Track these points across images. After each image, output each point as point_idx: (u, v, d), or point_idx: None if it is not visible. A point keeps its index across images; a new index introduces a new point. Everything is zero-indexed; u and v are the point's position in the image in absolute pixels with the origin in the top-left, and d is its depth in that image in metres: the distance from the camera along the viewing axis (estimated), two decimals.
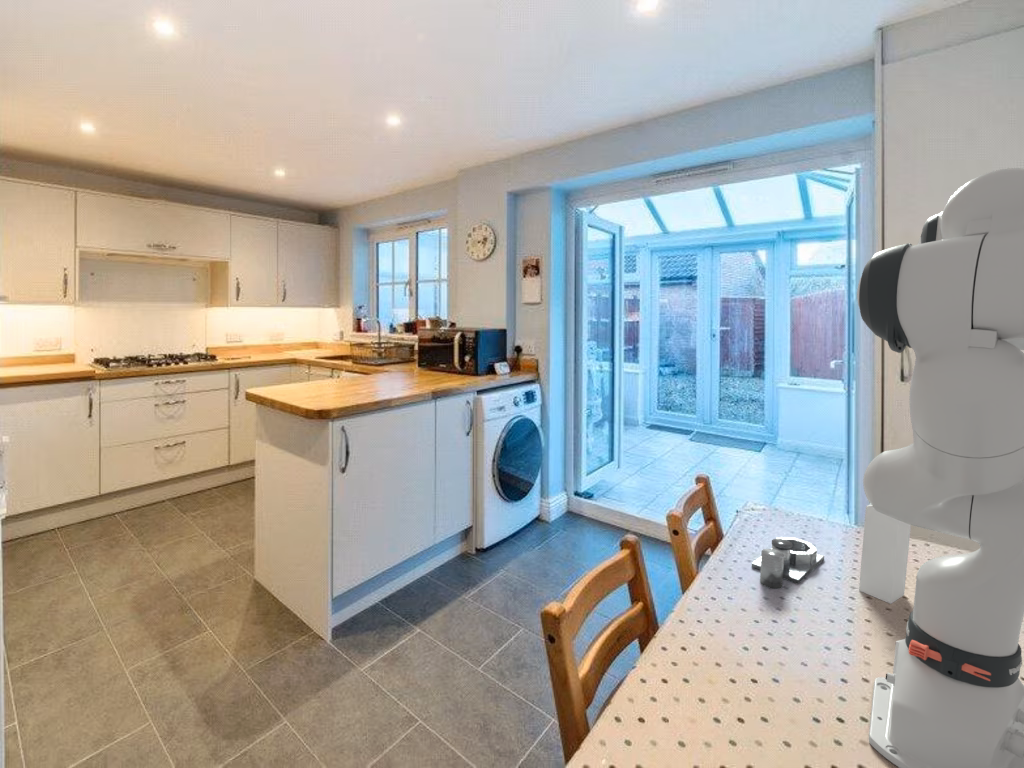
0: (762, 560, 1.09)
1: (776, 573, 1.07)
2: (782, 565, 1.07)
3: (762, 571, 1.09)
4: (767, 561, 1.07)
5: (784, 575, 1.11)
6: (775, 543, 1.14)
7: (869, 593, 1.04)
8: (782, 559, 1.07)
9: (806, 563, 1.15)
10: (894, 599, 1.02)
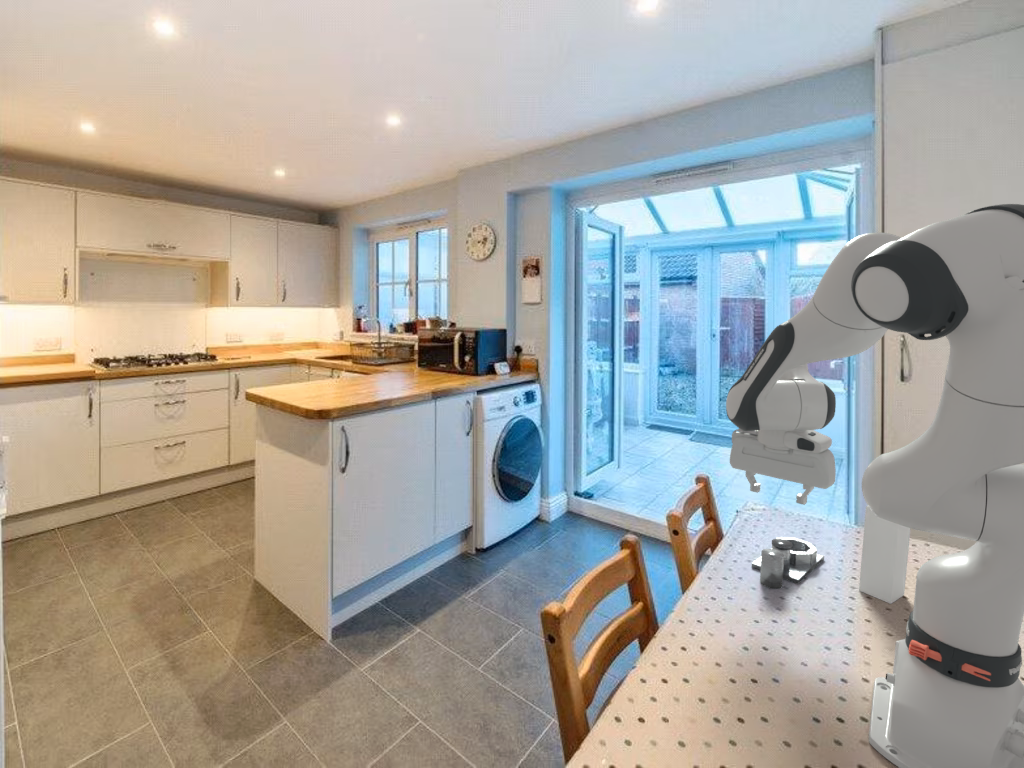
0: (762, 560, 1.09)
1: (776, 573, 1.07)
2: (782, 565, 1.07)
3: (762, 571, 1.09)
4: (767, 561, 1.07)
5: (784, 575, 1.11)
6: (775, 543, 1.14)
7: (869, 593, 1.04)
8: (782, 559, 1.07)
9: (806, 563, 1.15)
10: (894, 599, 1.02)
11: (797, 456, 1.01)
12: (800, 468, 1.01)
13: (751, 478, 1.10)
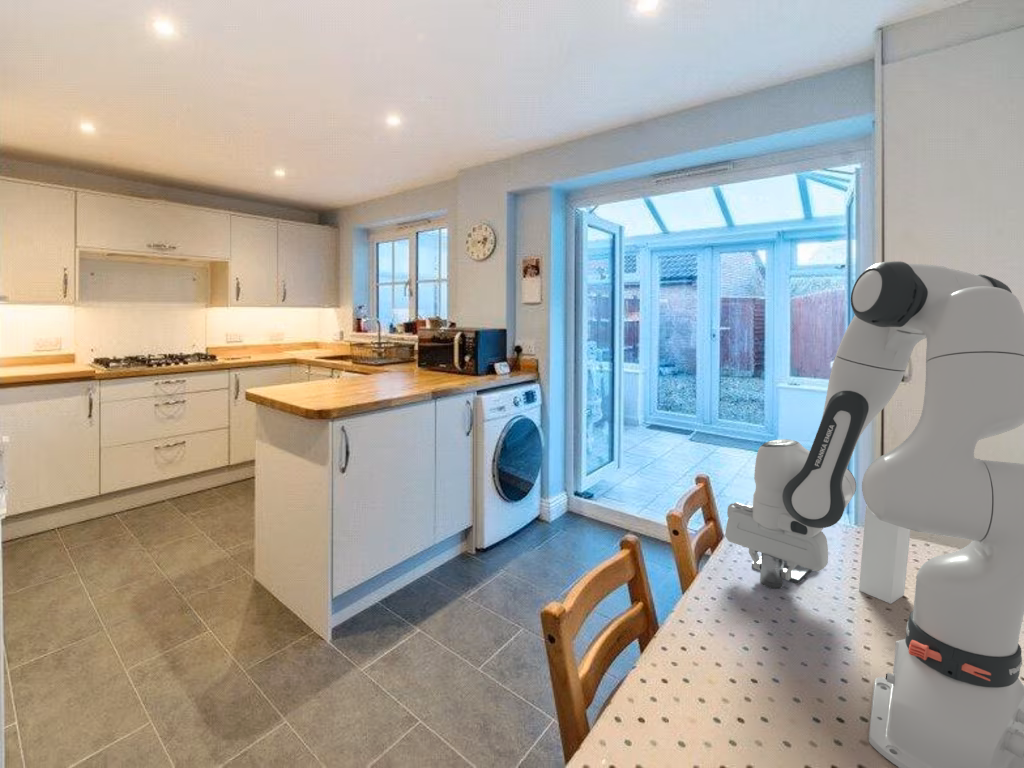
0: (762, 560, 1.09)
1: (776, 573, 1.07)
2: (782, 565, 1.07)
3: (762, 571, 1.09)
4: (767, 561, 1.07)
5: None
6: None
7: (869, 593, 1.04)
8: None
9: None
10: (894, 599, 1.02)
11: (791, 537, 1.03)
12: (794, 549, 1.03)
13: (754, 555, 1.11)
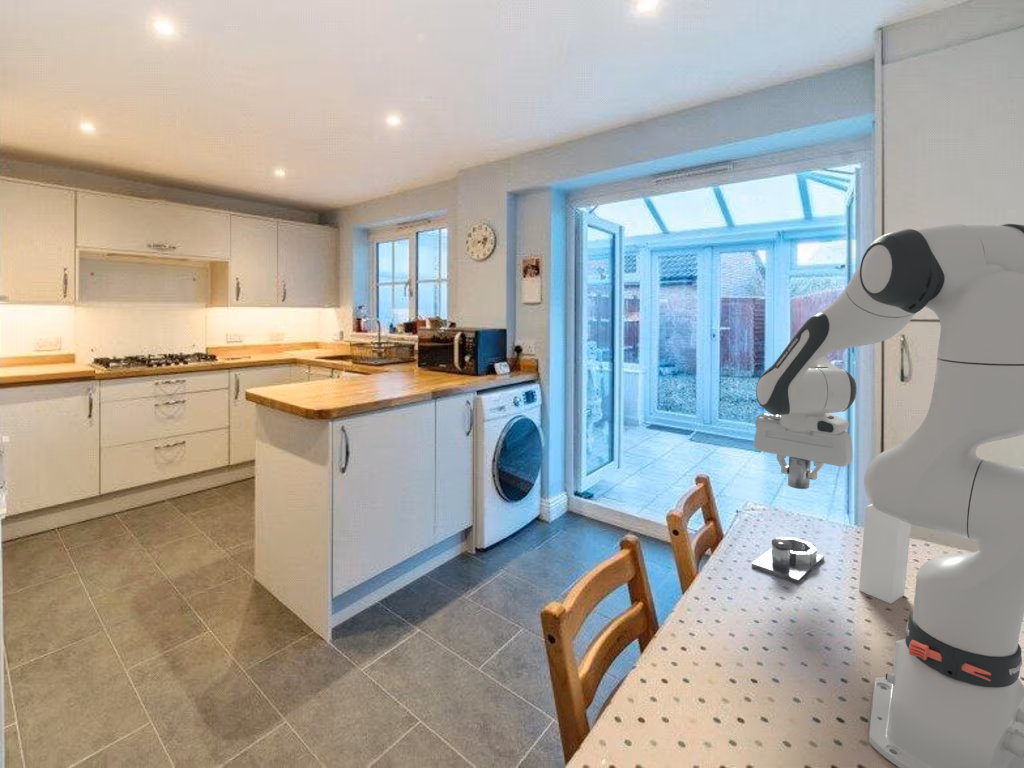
0: (789, 464, 1.17)
1: (803, 474, 1.15)
2: (809, 466, 1.15)
3: (790, 474, 1.17)
4: (795, 463, 1.15)
5: (784, 575, 1.11)
6: (775, 543, 1.14)
7: (869, 593, 1.04)
8: (809, 461, 1.15)
9: (806, 563, 1.15)
10: (894, 599, 1.02)
11: (817, 438, 1.11)
12: (820, 449, 1.11)
13: (782, 461, 1.19)
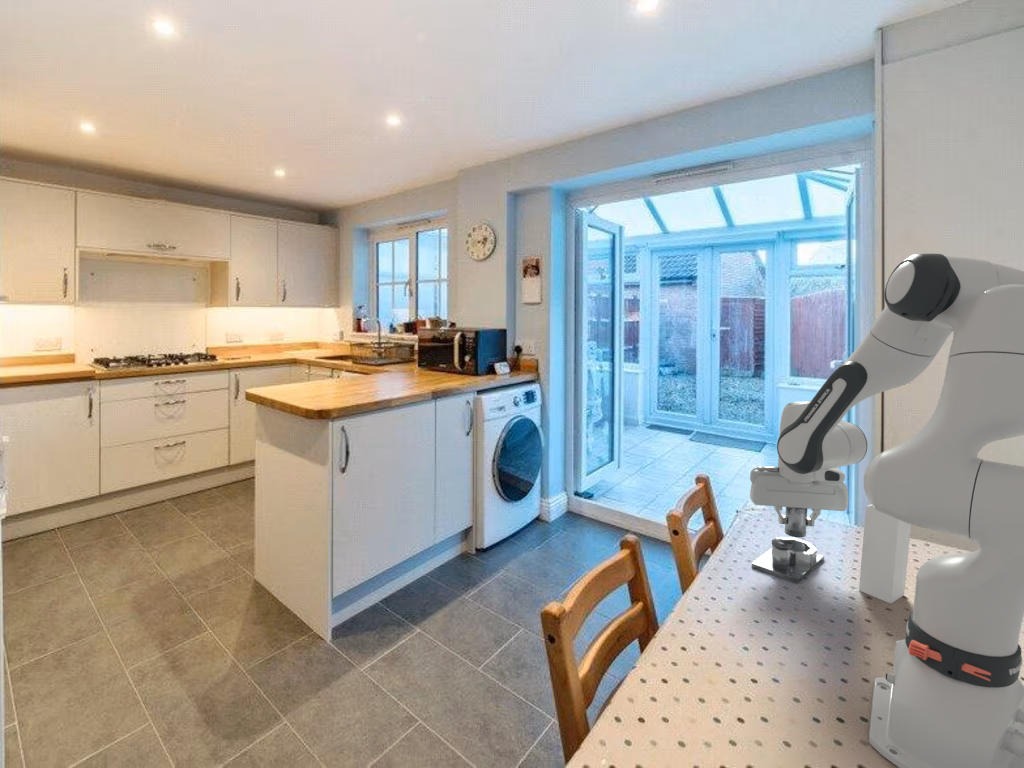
0: (790, 514, 1.17)
1: (805, 523, 1.17)
2: None
3: (791, 524, 1.18)
4: (797, 513, 1.16)
5: (784, 575, 1.11)
6: (775, 543, 1.14)
7: (869, 593, 1.04)
8: None
9: (806, 563, 1.15)
10: (894, 599, 1.02)
11: (820, 486, 1.14)
12: (823, 496, 1.15)
13: None
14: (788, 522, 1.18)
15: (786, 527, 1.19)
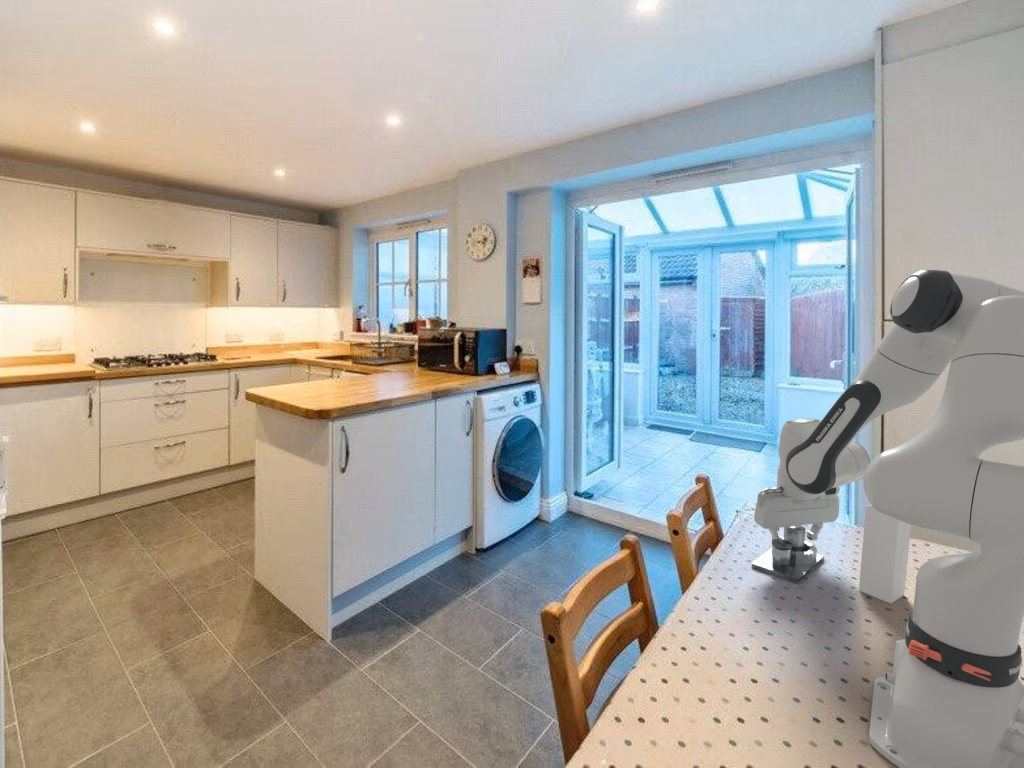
0: (793, 537, 1.17)
1: (804, 543, 1.18)
2: None
3: (794, 547, 1.17)
4: (800, 535, 1.17)
5: (784, 575, 1.11)
6: (775, 543, 1.14)
7: (869, 593, 1.04)
8: None
9: (806, 563, 1.15)
10: (894, 599, 1.02)
11: (818, 501, 1.17)
12: (820, 510, 1.17)
13: None
14: None
15: None
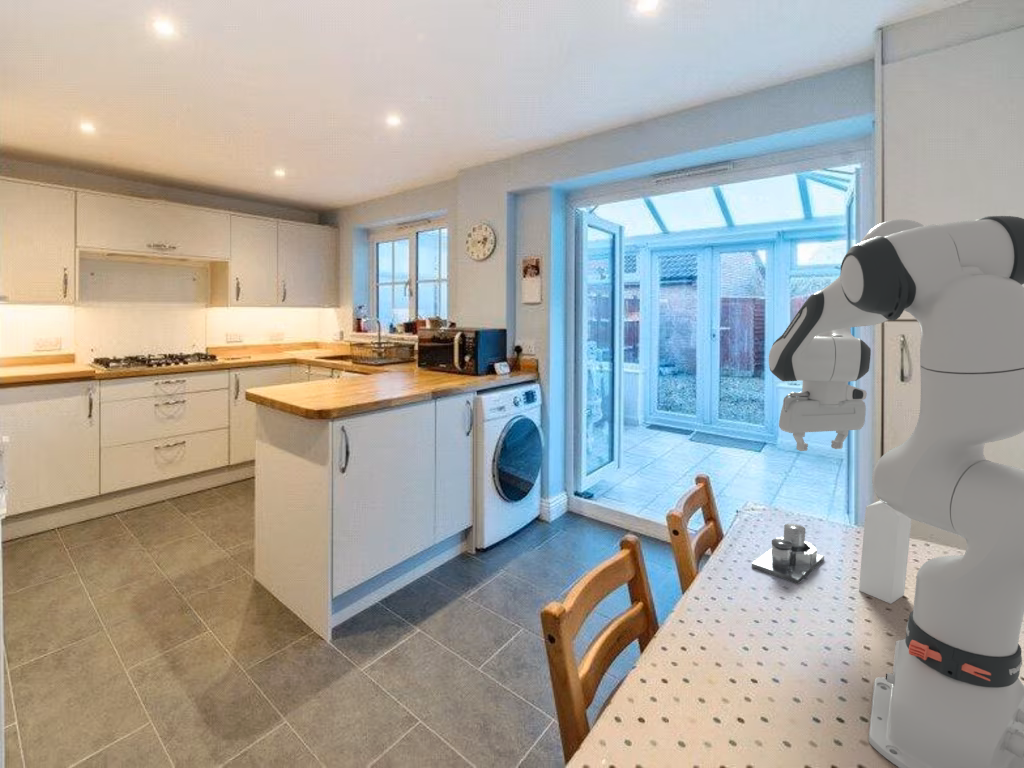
0: (793, 537, 1.17)
1: (804, 543, 1.18)
2: None
3: (794, 547, 1.17)
4: (800, 535, 1.17)
5: (784, 575, 1.11)
6: (775, 543, 1.14)
7: (869, 593, 1.04)
8: None
9: (806, 563, 1.15)
10: (894, 599, 1.02)
11: (844, 406, 1.14)
12: (846, 417, 1.15)
13: None
14: None
15: None
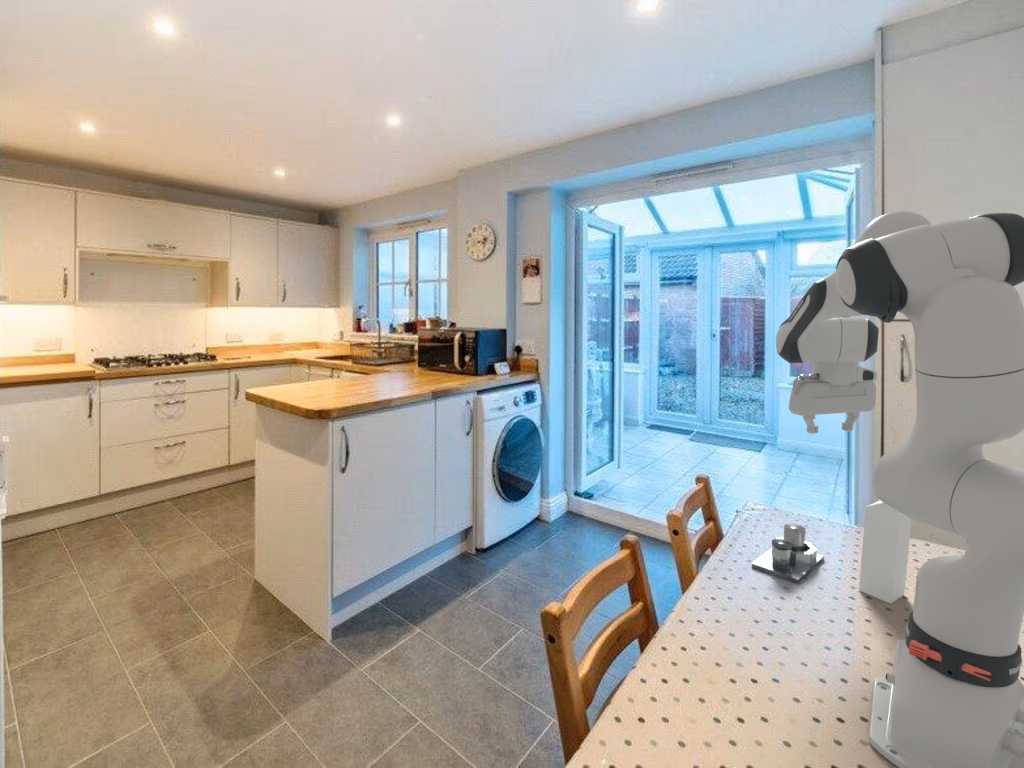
0: (793, 537, 1.17)
1: (804, 543, 1.18)
2: None
3: (794, 547, 1.17)
4: (800, 535, 1.17)
5: (784, 575, 1.11)
6: (775, 543, 1.14)
7: (869, 593, 1.04)
8: None
9: (806, 563, 1.15)
10: (894, 599, 1.02)
11: (854, 388, 1.14)
12: (856, 398, 1.14)
13: None
14: None
15: None
